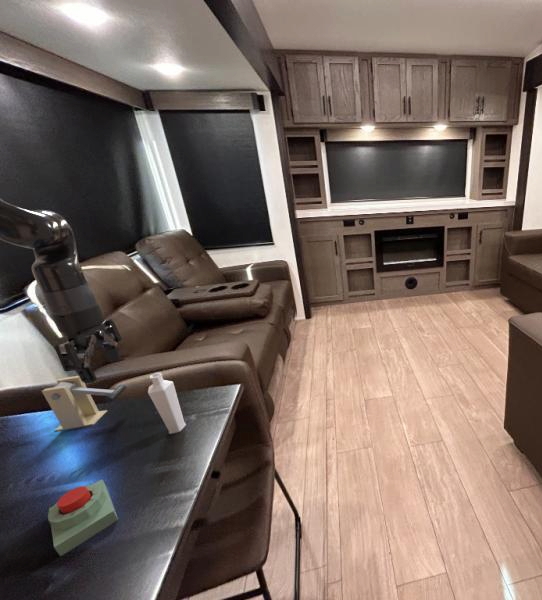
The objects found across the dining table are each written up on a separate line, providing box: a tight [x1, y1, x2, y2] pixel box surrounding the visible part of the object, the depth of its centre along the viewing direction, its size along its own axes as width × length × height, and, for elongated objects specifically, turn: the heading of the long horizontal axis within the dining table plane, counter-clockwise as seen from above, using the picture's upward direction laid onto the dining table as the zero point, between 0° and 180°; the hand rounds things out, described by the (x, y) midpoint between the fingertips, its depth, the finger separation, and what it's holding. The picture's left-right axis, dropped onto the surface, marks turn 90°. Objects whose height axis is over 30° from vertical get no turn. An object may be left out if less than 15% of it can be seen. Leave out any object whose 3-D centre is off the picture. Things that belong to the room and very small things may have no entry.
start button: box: [56, 485, 91, 514], centre depth 52 cm, size 4×4×2 cm
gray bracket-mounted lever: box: [54, 382, 127, 403], centre depth 75 cm, size 12×5×2 cm, turn 100°
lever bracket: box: [41, 375, 108, 432], centre depth 75 cm, size 8×6×12 cm
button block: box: [47, 479, 119, 557], centre depth 53 cm, size 10×7×4 cm
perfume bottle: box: [147, 372, 187, 435], centre depth 69 cm, size 5×4×15 cm
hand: (104, 371), depth 74 cm, fingers open, 8 cm apart
